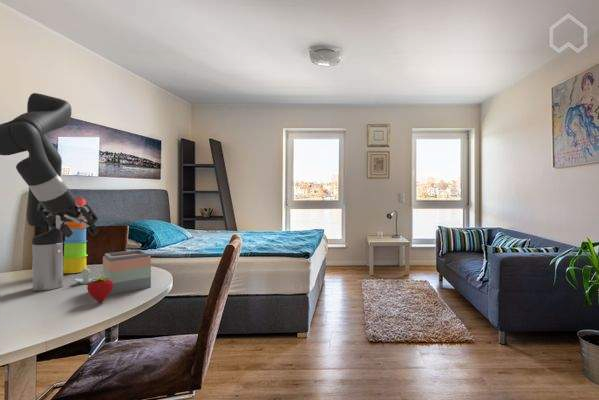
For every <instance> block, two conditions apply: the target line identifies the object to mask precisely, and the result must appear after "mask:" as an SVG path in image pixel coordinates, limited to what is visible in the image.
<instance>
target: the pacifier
mask: <svg viewBox="0 0 599 400" xmlns="http://www.w3.org/2000/svg"><path fill="white" fill-rule="evenodd" d="M87 268H88V267H86V269H83V270H82V272H80V273H81V275H82V278H74V281H75V282H77V283H78V284H81V285H86V284H87V285H88V284H89V283H90V282H92V281H95V280H92V279H95V278H98V277H97V276H93V277H90V274H91V270H90V269H89V268H88V269H87Z"/></svg>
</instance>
